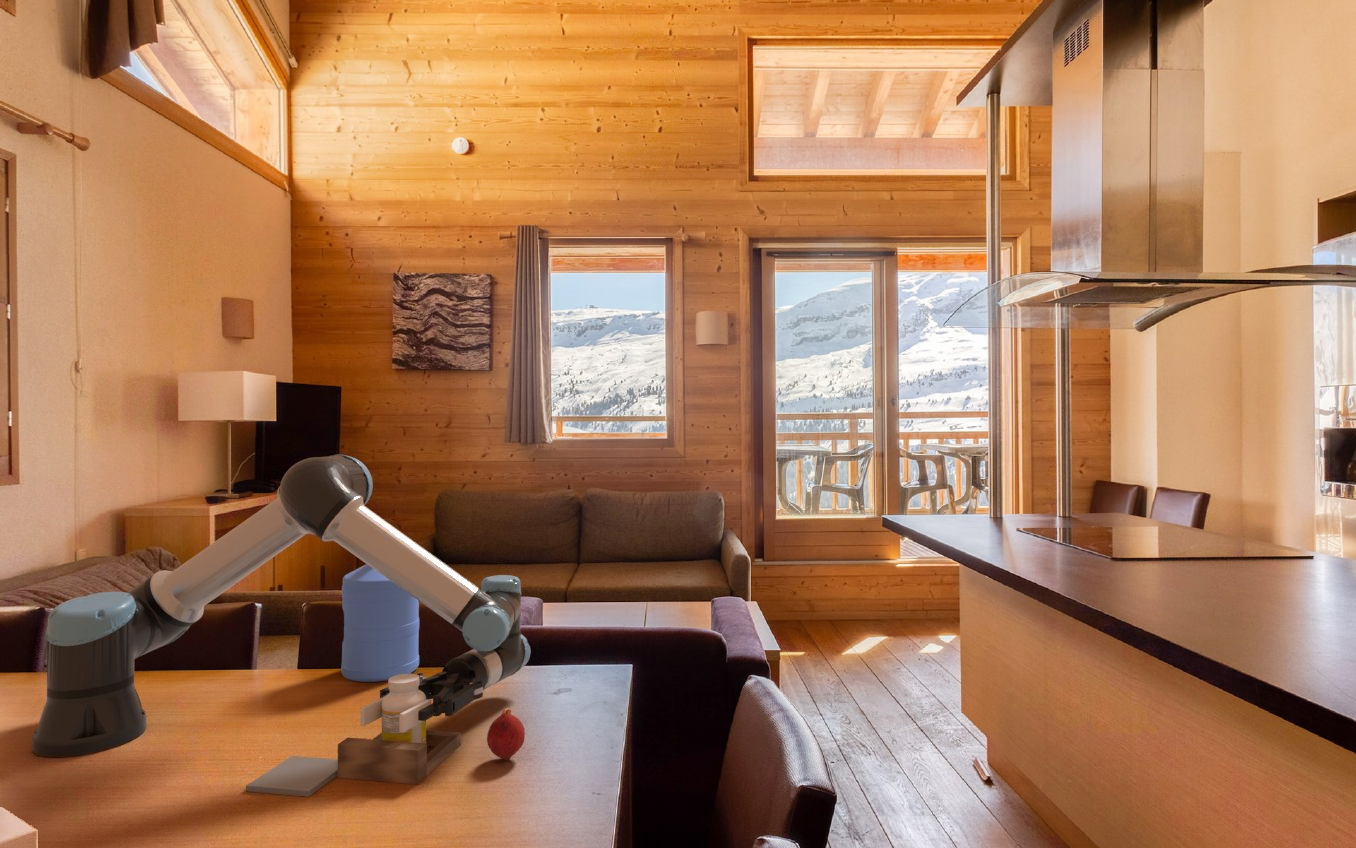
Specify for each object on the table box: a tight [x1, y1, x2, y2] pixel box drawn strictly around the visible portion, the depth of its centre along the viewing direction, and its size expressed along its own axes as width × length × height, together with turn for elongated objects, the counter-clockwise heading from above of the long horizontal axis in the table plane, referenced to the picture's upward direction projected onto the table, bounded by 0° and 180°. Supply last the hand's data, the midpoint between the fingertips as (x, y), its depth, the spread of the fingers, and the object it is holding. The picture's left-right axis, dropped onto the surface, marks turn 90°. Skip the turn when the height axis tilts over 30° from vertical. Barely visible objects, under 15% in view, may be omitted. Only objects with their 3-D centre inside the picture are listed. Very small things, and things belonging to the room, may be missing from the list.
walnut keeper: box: [337, 729, 462, 786], centre depth 118 cm, size 13×14×5 cm
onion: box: [486, 707, 526, 761], centre depth 118 cm, size 6×6×8 cm
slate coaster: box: [245, 755, 338, 798], centre depth 112 cm, size 10×10×1 cm
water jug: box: [340, 563, 420, 683], centre depth 162 cm, size 16×16×28 cm
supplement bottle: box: [381, 673, 427, 743], centre depth 119 cm, size 7×7×13 cm
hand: (381, 720), depth 114 cm, fingers closed on supplement bottle, 7 cm apart
